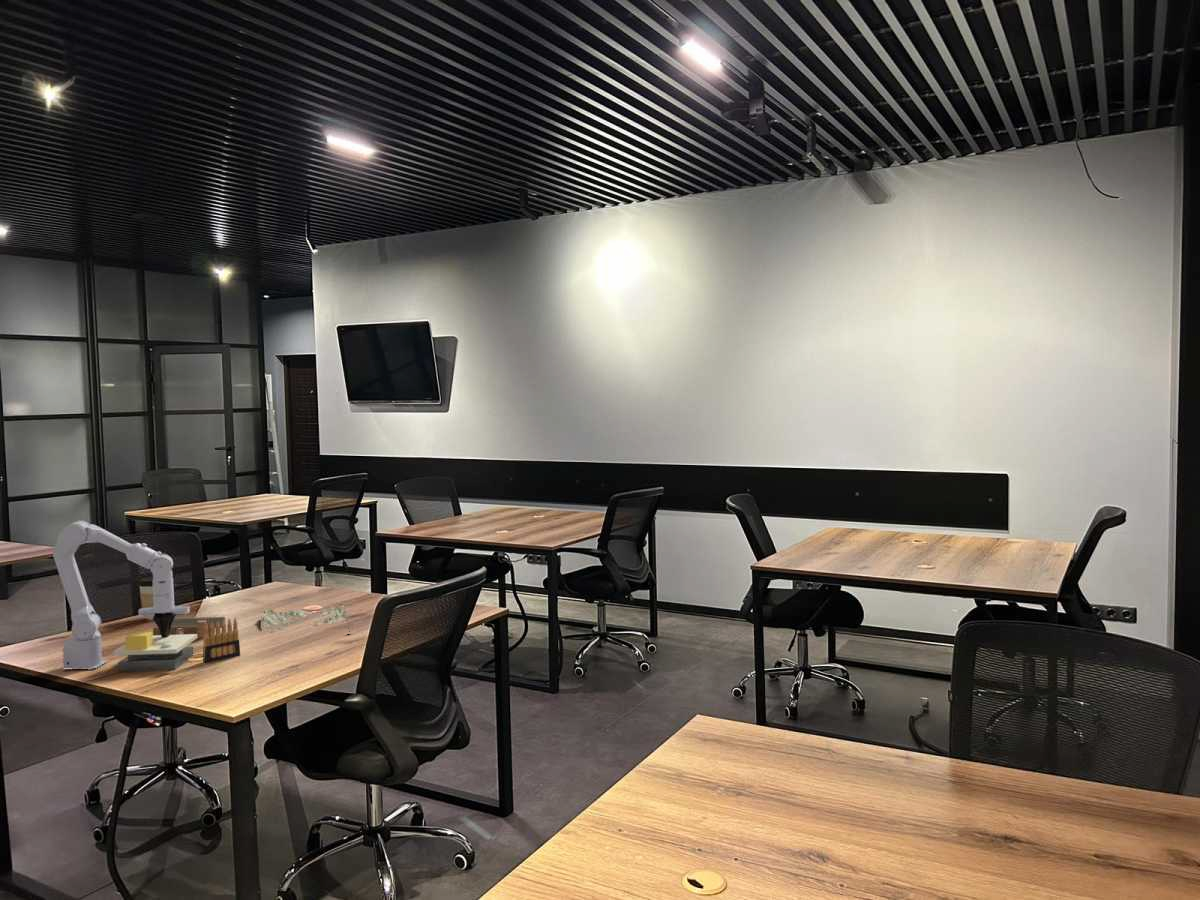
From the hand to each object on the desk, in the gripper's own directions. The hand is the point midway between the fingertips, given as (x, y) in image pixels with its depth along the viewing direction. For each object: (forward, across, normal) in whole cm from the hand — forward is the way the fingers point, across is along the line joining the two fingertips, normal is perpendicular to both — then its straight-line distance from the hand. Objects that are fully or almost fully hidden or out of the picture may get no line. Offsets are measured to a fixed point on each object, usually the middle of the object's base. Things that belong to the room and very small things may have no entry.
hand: (165, 637), depth 258 cm
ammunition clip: (+7, -18, +3) cm, 19 cm away
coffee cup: (+7, +26, -55) cm, 61 cm away
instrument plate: (+1, 0, +6) cm, 6 cm away
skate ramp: (+8, +5, -26) cm, 27 cm away
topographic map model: (+8, -34, -34) cm, 48 cm away
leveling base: (+7, 0, +6) cm, 9 cm away
